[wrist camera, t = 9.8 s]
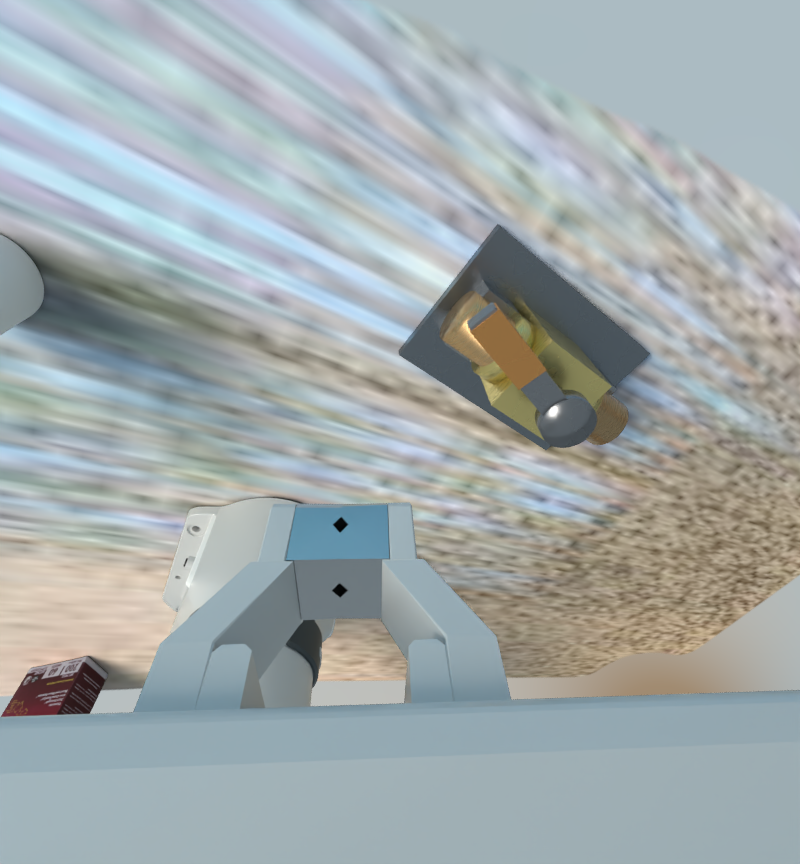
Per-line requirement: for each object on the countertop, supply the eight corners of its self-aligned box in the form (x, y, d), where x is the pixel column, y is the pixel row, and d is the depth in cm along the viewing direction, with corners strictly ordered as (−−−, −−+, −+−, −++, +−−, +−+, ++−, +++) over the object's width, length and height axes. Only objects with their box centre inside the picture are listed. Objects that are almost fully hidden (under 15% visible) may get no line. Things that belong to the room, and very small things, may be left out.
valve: (543, 445, 46) (578, 516, 38) (398, 350, 40) (405, 412, 32) (645, 349, 41) (710, 409, 33) (497, 224, 35) (534, 260, 27)
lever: (598, 414, 33) (607, 426, 32) (552, 444, 34) (558, 456, 33) (504, 289, 28) (510, 298, 26) (453, 330, 29) (457, 339, 28)
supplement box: (87, 653, 62) (10, 803, 48) (110, 673, 64) (42, 820, 51) (27, 666, 63) (-65, 817, 49) (52, 685, 65) (-29, 833, 52)
